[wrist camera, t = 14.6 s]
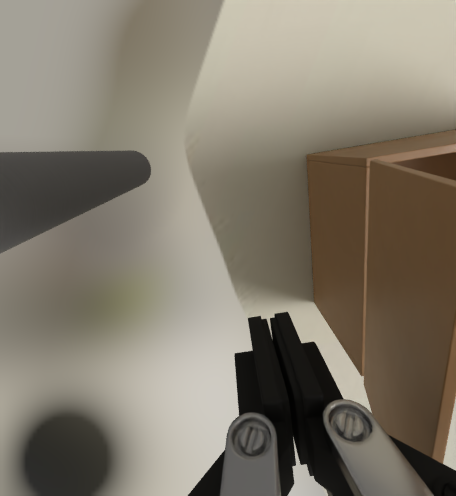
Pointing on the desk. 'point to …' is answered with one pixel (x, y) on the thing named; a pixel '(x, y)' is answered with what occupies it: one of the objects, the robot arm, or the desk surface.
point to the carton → (357, 224)
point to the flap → (411, 305)
